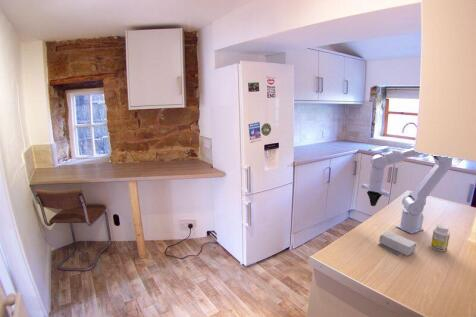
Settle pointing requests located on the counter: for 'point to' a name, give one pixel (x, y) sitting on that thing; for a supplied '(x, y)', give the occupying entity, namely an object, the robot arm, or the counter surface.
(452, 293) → the counter surface
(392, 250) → the mat
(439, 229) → the supplement bottle
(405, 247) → the skincare box
